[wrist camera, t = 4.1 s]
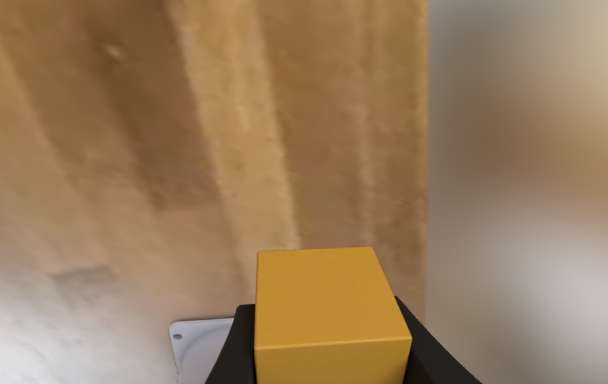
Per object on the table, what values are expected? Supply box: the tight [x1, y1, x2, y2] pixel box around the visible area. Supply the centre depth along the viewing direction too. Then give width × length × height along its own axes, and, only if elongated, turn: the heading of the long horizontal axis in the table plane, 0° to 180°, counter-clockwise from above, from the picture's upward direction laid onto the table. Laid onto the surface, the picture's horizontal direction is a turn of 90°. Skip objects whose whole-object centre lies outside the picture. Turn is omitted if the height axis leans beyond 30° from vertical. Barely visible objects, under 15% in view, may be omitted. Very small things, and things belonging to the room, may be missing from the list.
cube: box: [254, 247, 412, 384], centre depth 12 cm, size 4×4×4 cm
